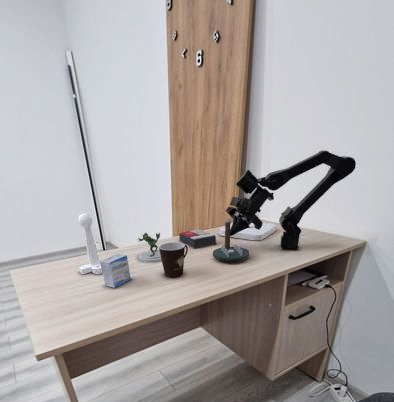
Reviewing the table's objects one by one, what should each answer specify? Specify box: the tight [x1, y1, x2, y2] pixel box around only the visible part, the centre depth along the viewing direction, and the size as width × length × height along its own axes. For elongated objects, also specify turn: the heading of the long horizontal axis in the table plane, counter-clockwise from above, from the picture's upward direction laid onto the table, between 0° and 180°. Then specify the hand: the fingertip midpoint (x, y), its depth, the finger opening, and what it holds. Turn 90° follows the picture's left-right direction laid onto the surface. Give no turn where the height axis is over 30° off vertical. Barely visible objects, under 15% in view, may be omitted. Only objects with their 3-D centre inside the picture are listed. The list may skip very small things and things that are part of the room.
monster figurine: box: [136, 232, 162, 263], centre depth 118 cm, size 12×12×10 cm
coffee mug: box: [158, 241, 189, 279], centre depth 102 cm, size 12×9×10 cm
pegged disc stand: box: [212, 218, 251, 261], centre depth 112 cm, size 14×14×12 cm
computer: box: [219, 222, 277, 241], centre depth 145 cm, size 22×22×3 cm
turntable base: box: [217, 259, 245, 264], centre depth 116 cm, size 10×10×1 cm
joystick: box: [77, 213, 103, 275], centre depth 104 cm, size 11×8×20 cm
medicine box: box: [99, 253, 132, 289], centre depth 97 cm, size 8×4×9 cm, turn 148°
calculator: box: [178, 229, 217, 249], centre depth 135 cm, size 11×4×15 cm
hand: (229, 235), depth 117 cm, fingers closed, pressing on pegged disc stand
